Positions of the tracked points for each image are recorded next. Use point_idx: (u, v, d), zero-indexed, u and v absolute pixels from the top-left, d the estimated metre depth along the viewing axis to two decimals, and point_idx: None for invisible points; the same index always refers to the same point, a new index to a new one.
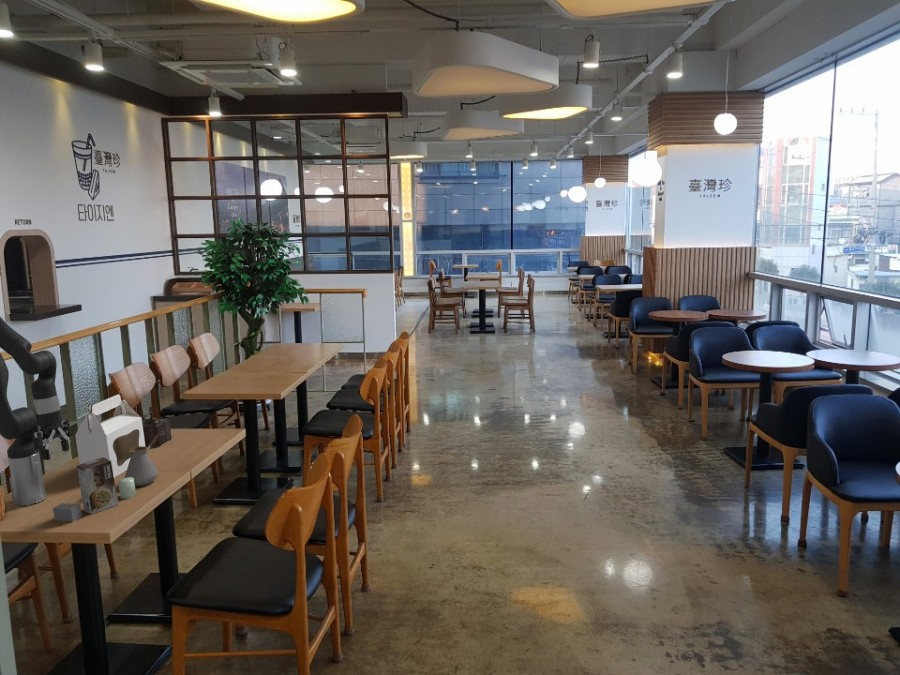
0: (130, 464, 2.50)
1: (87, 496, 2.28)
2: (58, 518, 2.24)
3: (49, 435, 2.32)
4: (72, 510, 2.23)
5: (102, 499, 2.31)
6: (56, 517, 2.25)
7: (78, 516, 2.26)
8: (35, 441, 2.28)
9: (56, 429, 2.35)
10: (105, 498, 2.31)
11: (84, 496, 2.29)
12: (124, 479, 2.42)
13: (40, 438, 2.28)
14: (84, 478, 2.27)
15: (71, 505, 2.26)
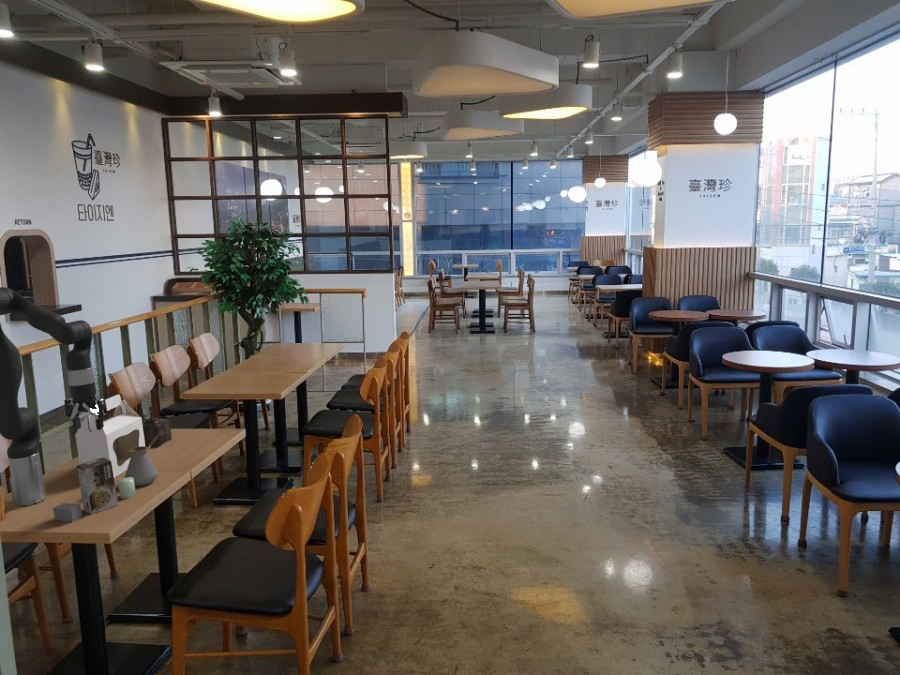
0: (130, 464, 2.50)
1: (87, 496, 2.28)
2: (58, 518, 2.24)
3: (95, 404, 2.28)
4: (72, 510, 2.23)
5: (102, 499, 2.31)
6: (56, 517, 2.25)
7: (78, 516, 2.26)
8: (103, 408, 2.25)
9: None
10: (105, 498, 2.31)
11: (84, 496, 2.29)
12: (124, 479, 2.42)
13: None
14: (84, 478, 2.27)
15: (71, 505, 2.26)
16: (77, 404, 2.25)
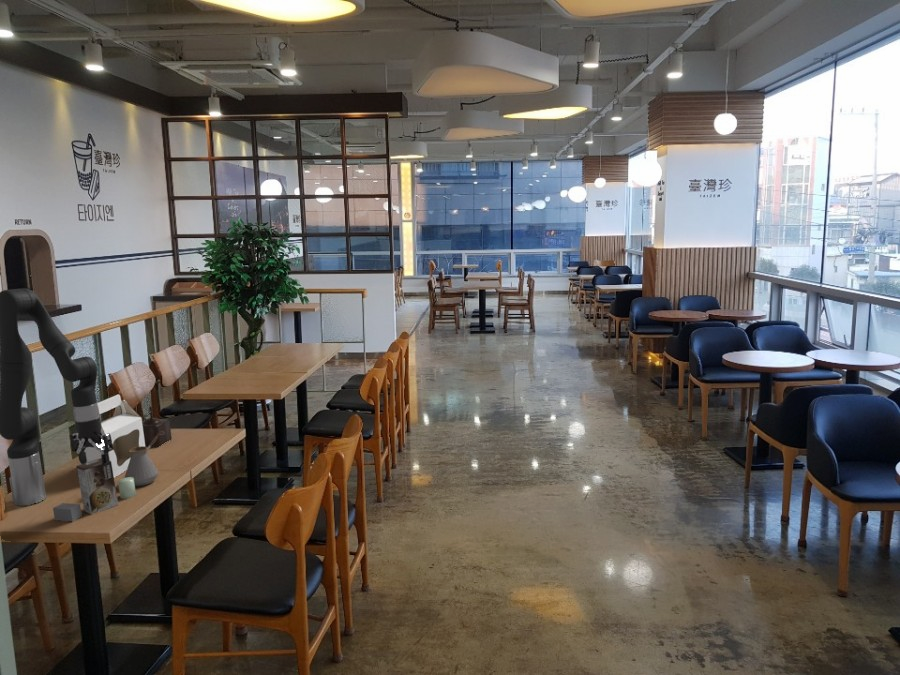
0: (130, 464, 2.50)
1: (87, 496, 2.28)
2: (58, 518, 2.24)
3: None
4: (72, 510, 2.23)
5: (102, 499, 2.31)
6: (56, 517, 2.25)
7: (78, 516, 2.26)
8: (108, 443, 2.27)
9: None
10: (105, 498, 2.31)
11: (84, 496, 2.29)
12: (124, 479, 2.42)
13: None
14: (84, 478, 2.27)
15: (71, 505, 2.26)
16: (83, 440, 2.27)
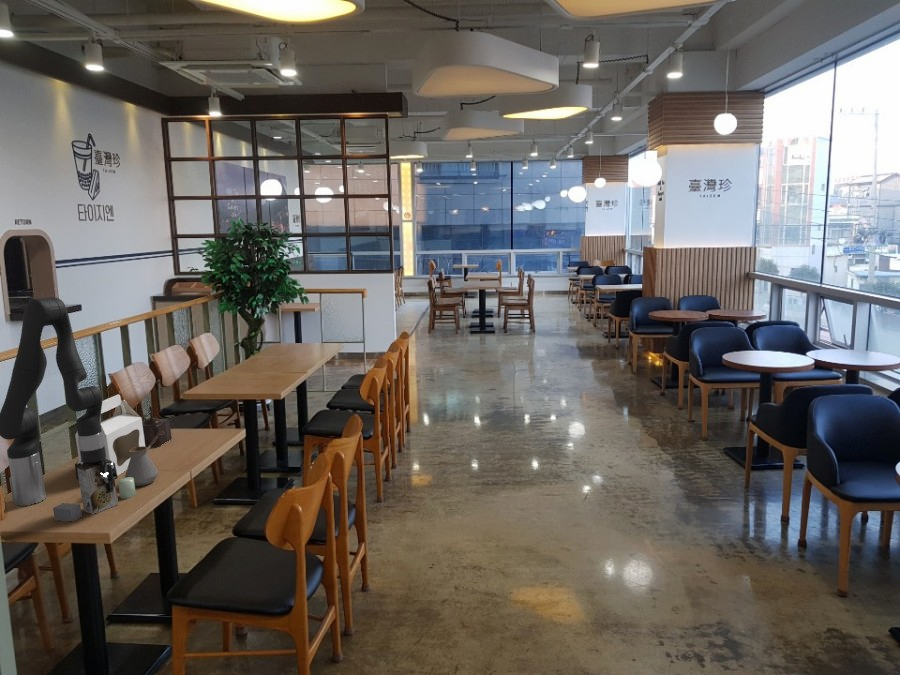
0: (130, 464, 2.50)
1: (88, 496, 2.27)
2: (58, 518, 2.25)
3: None
4: (72, 511, 2.23)
5: (103, 499, 2.31)
6: (56, 517, 2.25)
7: (78, 516, 2.25)
8: (112, 472, 2.29)
9: None
10: (106, 498, 2.31)
11: (85, 496, 2.29)
12: (124, 479, 2.42)
13: None
14: (85, 478, 2.26)
15: (71, 505, 2.26)
16: None
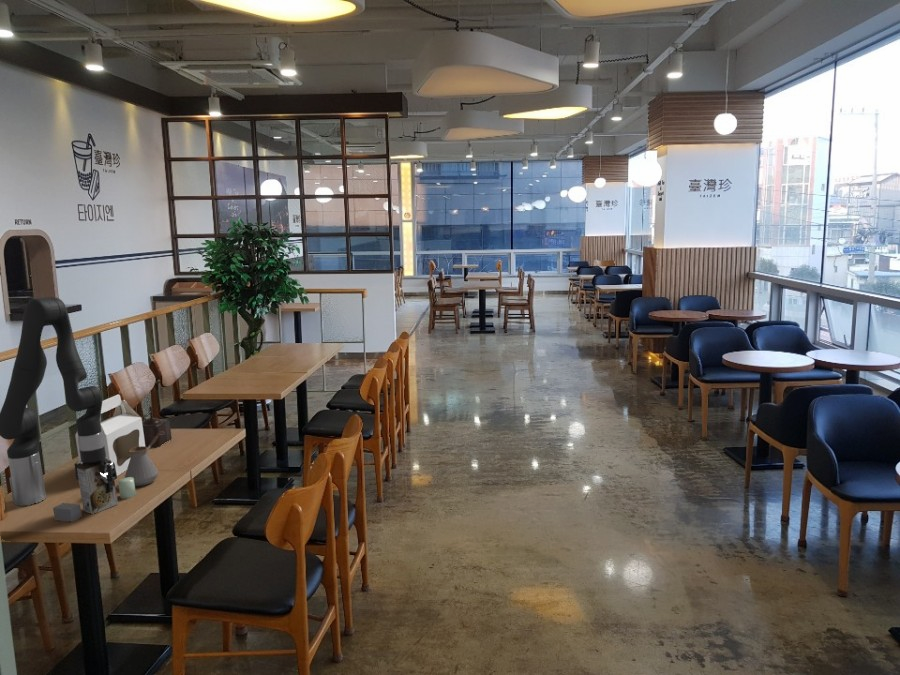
0: (130, 464, 2.50)
1: (88, 496, 2.27)
2: (58, 518, 2.25)
3: None
4: (71, 511, 2.23)
5: (103, 499, 2.31)
6: (56, 517, 2.25)
7: (78, 516, 2.25)
8: (112, 472, 2.29)
9: None
10: (106, 498, 2.31)
11: (85, 496, 2.29)
12: (124, 479, 2.42)
13: None
14: (84, 478, 2.27)
15: (71, 505, 2.26)
16: None
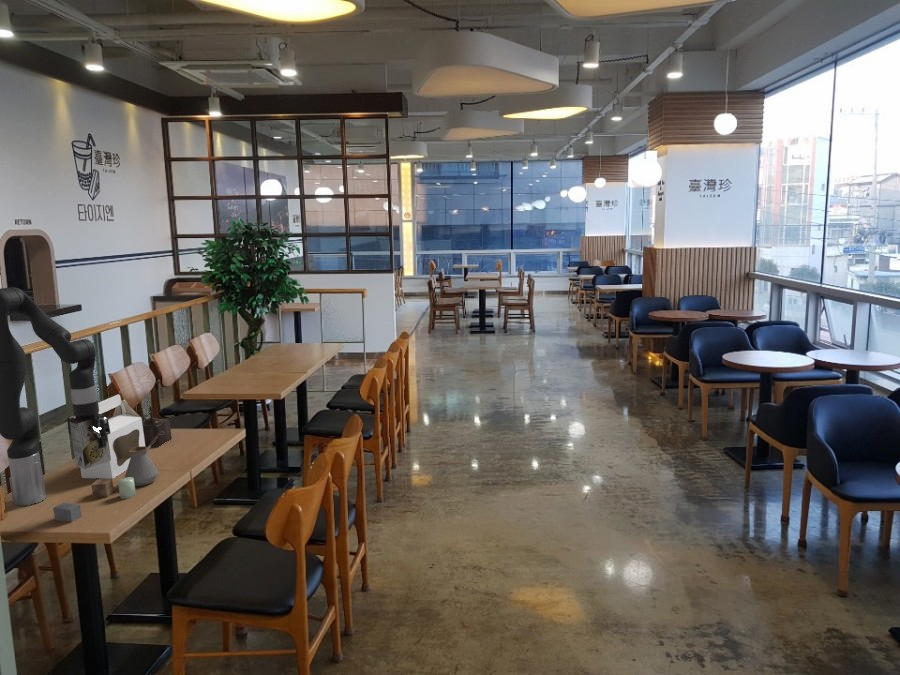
0: (130, 464, 2.50)
1: (81, 450, 2.25)
2: (58, 518, 2.25)
3: None
4: (71, 511, 2.23)
5: (95, 454, 2.28)
6: (56, 517, 2.25)
7: (77, 516, 2.25)
8: (105, 427, 2.26)
9: None
10: (99, 453, 2.29)
11: (77, 451, 2.26)
12: (124, 479, 2.42)
13: None
14: (77, 431, 2.24)
15: (71, 505, 2.26)
16: None
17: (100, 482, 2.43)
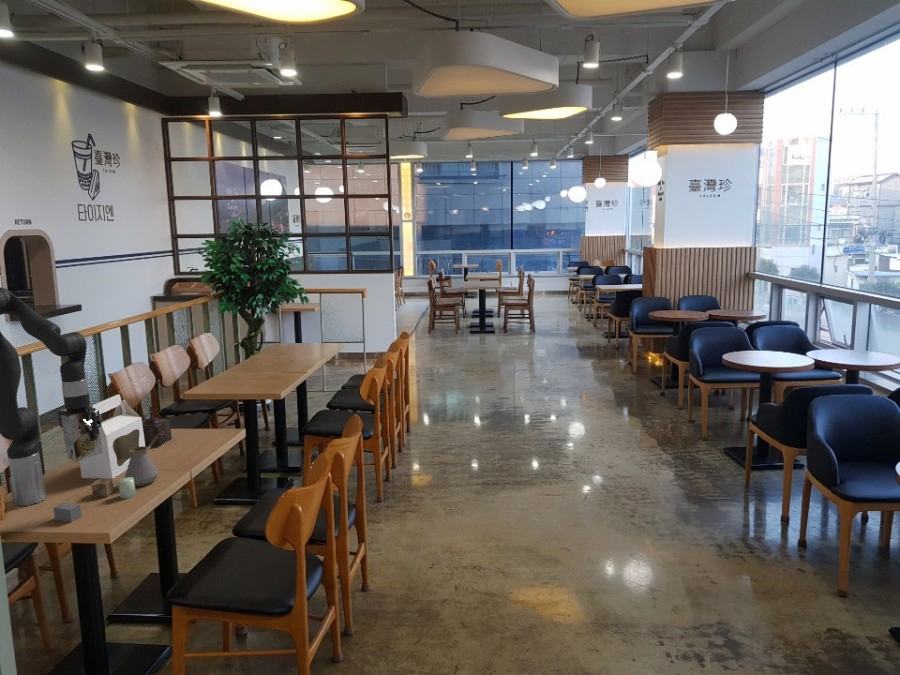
0: (130, 464, 2.50)
1: (72, 443, 2.25)
2: (58, 518, 2.25)
3: None
4: (71, 511, 2.23)
5: (87, 447, 2.28)
6: (56, 517, 2.25)
7: (77, 516, 2.25)
8: (96, 419, 2.26)
9: None
10: (90, 446, 2.29)
11: (68, 443, 2.26)
12: (124, 479, 2.42)
13: None
14: (68, 424, 2.24)
15: (71, 505, 2.26)
16: None
17: (100, 482, 2.43)
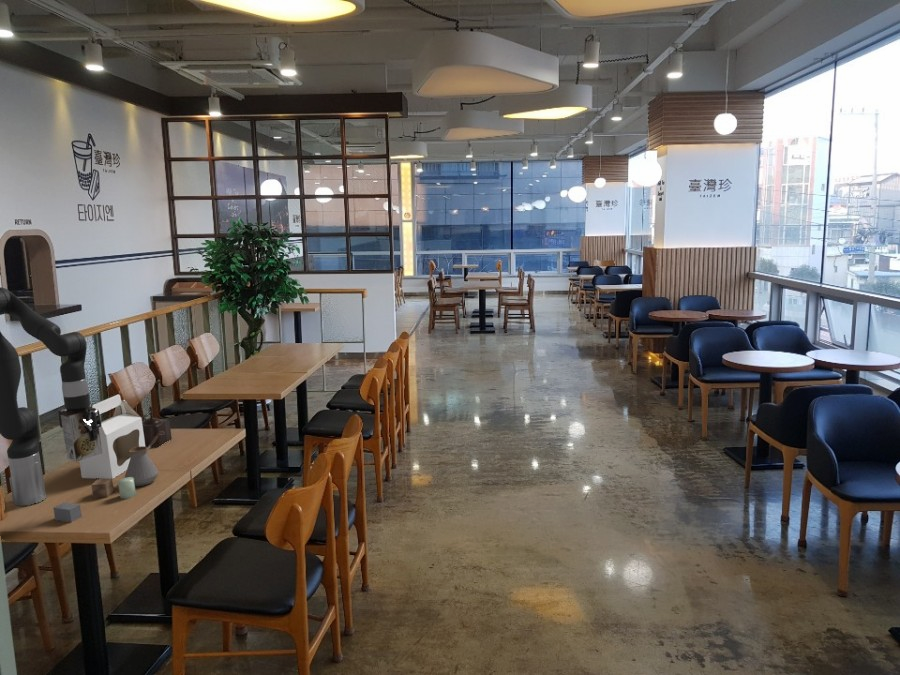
0: (130, 464, 2.50)
1: (72, 443, 2.25)
2: (58, 518, 2.25)
3: None
4: (71, 511, 2.23)
5: (87, 447, 2.28)
6: (56, 517, 2.25)
7: (77, 517, 2.25)
8: (96, 419, 2.26)
9: None
10: (90, 446, 2.29)
11: (68, 443, 2.26)
12: (124, 479, 2.42)
13: None
14: (68, 424, 2.24)
15: (71, 505, 2.25)
16: None
17: (100, 482, 2.43)
